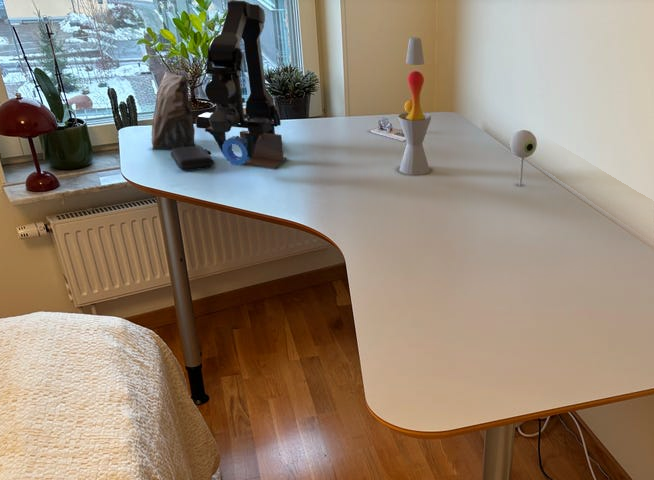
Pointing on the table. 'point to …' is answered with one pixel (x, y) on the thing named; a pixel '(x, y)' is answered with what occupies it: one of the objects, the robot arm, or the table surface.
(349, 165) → the table surface
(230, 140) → the tape roll
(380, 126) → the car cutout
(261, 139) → the hook
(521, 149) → the eyeball on stand
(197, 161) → the carrying case
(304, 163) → the table surface
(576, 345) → the table surface
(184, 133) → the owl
